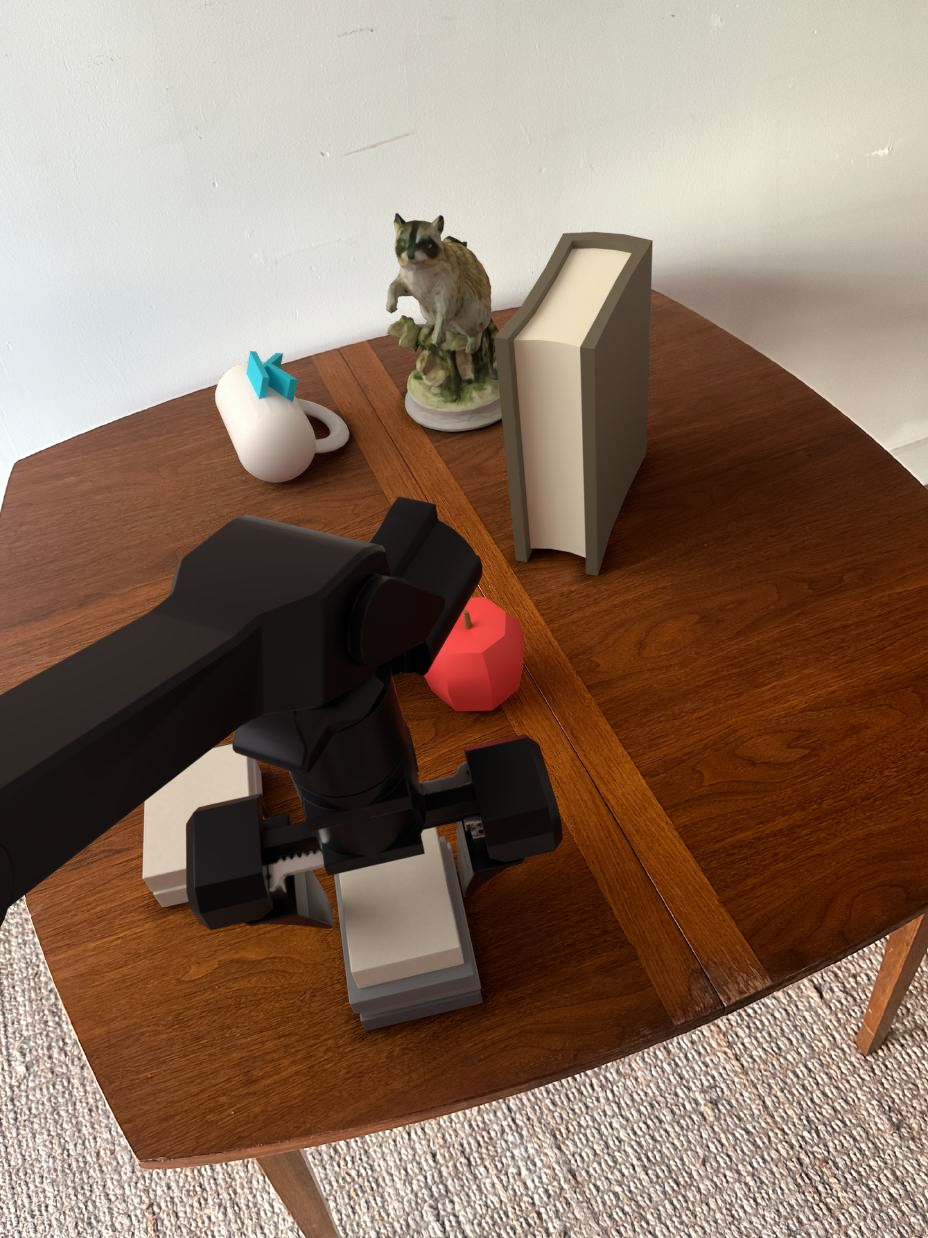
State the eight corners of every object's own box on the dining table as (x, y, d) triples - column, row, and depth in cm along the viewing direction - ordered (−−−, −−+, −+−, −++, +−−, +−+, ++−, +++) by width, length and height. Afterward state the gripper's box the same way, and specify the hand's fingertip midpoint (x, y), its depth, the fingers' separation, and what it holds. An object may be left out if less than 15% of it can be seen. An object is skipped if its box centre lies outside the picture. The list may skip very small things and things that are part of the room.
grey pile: (485, 1006, 59) (477, 973, 56) (364, 1035, 59) (349, 1004, 56) (455, 865, 66) (447, 829, 62) (345, 891, 65) (331, 855, 62)
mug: (254, 405, 86) (222, 339, 94) (239, 495, 91) (210, 425, 99) (383, 412, 91) (342, 348, 99) (362, 496, 97) (325, 429, 105)
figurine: (385, 433, 98) (345, 236, 83) (430, 355, 106) (401, 163, 92) (500, 446, 95) (479, 243, 80) (537, 364, 103) (524, 167, 89)
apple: (452, 633, 79) (439, 559, 74) (547, 660, 77) (542, 586, 71) (405, 709, 75) (388, 637, 69) (504, 741, 72) (494, 669, 66)
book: (573, 442, 94) (565, 223, 79) (647, 453, 92) (654, 230, 76) (515, 560, 84) (493, 337, 69) (597, 575, 82) (594, 348, 67)
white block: (464, 964, 57) (460, 947, 55) (358, 989, 56) (351, 972, 55) (439, 841, 62) (434, 822, 60) (342, 863, 62) (335, 844, 60)
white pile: (268, 883, 66) (254, 855, 64) (160, 908, 66) (141, 881, 63) (260, 769, 73) (247, 740, 70) (162, 791, 72) (145, 762, 70)
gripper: (504, 583, 53) (524, 756, 64) (148, 660, 52) (232, 822, 63) (559, 754, 45) (570, 916, 57) (143, 847, 44) (239, 993, 56)
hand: (398, 904), depth 58 cm, fingers open, 8 cm apart
